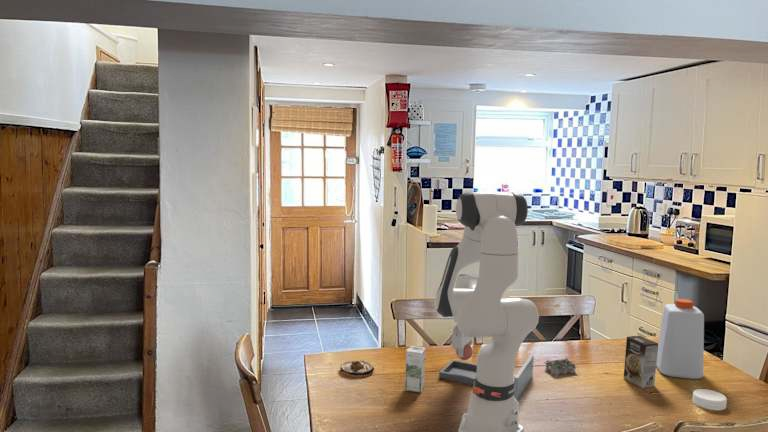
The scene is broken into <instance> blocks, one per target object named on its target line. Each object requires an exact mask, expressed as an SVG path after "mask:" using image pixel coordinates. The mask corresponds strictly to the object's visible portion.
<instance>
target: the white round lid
mask: <svg viewBox="0 0 768 432" xmlns="http://www.w3.org/2000/svg"><path fill="white" fill-rule="evenodd" d="M727 401H728V399H727V396H725V395H724V394H723V393H721V392H718V391H716V390H712V389H708V388H707V389H706V388H705V389H704V388H698V389H695V390H693V391H692V403H693V404H694V405H696V406H697V407H700V408H702V409H704V410H705V409H706V410H709V411H724V410H726V409H727Z"/></svg>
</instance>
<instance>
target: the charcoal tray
mask: <svg viewBox="0 0 768 432" xmlns="http://www.w3.org/2000/svg"><path fill="white" fill-rule="evenodd" d="M476 373H477V363H473V362H467V361H463V360H457V359H451V360H450V361H449V362H448V363H447V364H446V365H445V366H444V367H443V368H442V369H441V370H440V371H439V373H438V375H439V376H438V378H439V379H440V378H441V379H442V380H445V381H451V382H454V383H460V384H464V385H469V386H472V387H474V381H475V377H476ZM441 379H440V380H441Z"/></svg>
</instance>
